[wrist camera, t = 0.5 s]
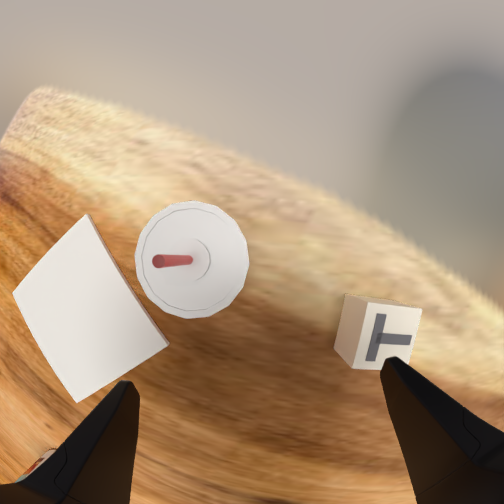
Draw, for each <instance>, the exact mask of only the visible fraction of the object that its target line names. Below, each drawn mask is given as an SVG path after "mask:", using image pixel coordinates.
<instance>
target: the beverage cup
mask: <svg viewBox="0 0 504 504" xmlns="http://www.w3.org/2000/svg"><path fill="white" fill-rule="evenodd" d="M135 263H136V271H137V278H138V280H139V282H140V284H141V286H142V288H143V289H144V291H145V293H146V295H147V297H148V298H149V299H150V300H151V301H153V302H154V303H155V304H156V305H157V306H158V307H160V308H161V309H162V310H163V311H164V312H167V313H170V314H173V315H176V316H179V317H182V318H185V319H189V318H200V317H209V316H211V315H213V314H214V313H216V312H218V311H220V310H222V309H224V308H225V307H227V306H229V305H230V303H231V302H232V301H233V300H234V298H235V297H236V296H237V294H238V293H239V292H240V291H241V289H242V288H243V286H244V282H245V278H246V275H247V271H248V268H249V257H248V249H247V241H246V239H245V237H244V236H243V234H242V232H241V230H240V229H239V227H238V225H237V223H236V222H235V220H234V219H233V218H231V217H230V216H229V215H227V214H226V213H225V212H223V211H222V210H221V209H220V208H218V207H217V206H214V205H211V204H207V203H203V202H199V201H195V200H194V201H187V202H181V203H174V204H171V205H170V206H168V207H166V208H165V209H163V210H161V211H160V212H158V213H157V214H155V215H153V217H152V218H151V219H150V221H149V222H148V224H147V225H146V226H145V228H144V229H143V230H142V232H141V233H140V236H139V240H138V244H137V248H136V252H135Z"/></svg>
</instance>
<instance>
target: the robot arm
mask: <svg viewBox="0 0 504 504" xmlns="http://www.w3.org/2000/svg"><path fill="white" fill-rule="evenodd" d="M380 378H381V382H382V386H383V391H384V395H385V399H386V403H387V407H388V411H389V414H390V418H391V420H392V423H393V426H394V429H395V432H396V435H397V438H398V441H399V444H400V447H401V450H402V453H403V456H404V459H405V462H406V466H407V469H408V472H409V476H410V479H411V483H412V486H413V490H414V493H415V496H416V501H417V504H504V432H502V431H501V430H499V429H497V428H495V427H494V426H492V425H490V424H488V423H487V422H485V421H484V420H482V419H480V418H479V417H477V416H476V415H475V414H473V413H472V412H470V411H469V410H468V409H466V408H465V407H463V406H462V405H461V404H460V403H458V402H457V401H456V400H454V399H453V398H452V397H450V396H449V395H448V394H446V393H445V392H444V391H442V390H441V389H440V388H438V387H437V386H436V385H434V384H433V383H432V382H430V381H429V380H428V379H426V378H425V377H424V376H422V375H421V374H420V373H418V372H417V371H416V370H415V369H413V368H412V367H411V366H409V365H408V364H407V363H405V362H404V361H403V360H401V359H400V358H399V357H397V356H393V357H389V358H386V359H385V361H384V364H383V366H382V369H381V372H380ZM139 407H140V395H139V393H138V391H137V389H136V388H135V386H134V384H133V383H132V382H131V381H128V380H121V381H119V382H118V383H117V384H116V385H115V386H114V388H113V389H112V390H111V391H110V392H109V393H108V394H107V395H106V396H105V397H104V398H103V399H102V401H101V402H100V403H99V404H98V405H97V406H96V407H95V408H94V409H93V410H92V411H91V413H90V414H89V415H88V416H87V417H86V418H85V419H84V420H83V421H82V422H81V423H80V425H79V426H78V427H77V428H76V429H75V430H74V431H73V432H72V433H71V434H70V435H69V437H68V438H67V439H66V440H65V442H63V443H62V444H61V445H60V446H59V447H58V449H57V450H56V451H55V452H54V453H53V454H52V455H51V456H50V457H49V458H48V459H46V460H45V461H44V462H43V463H42V464H41V465H40V466H39V467H37V468H36V469H35V470H34V471H33V472H32V473H30V474H29V475H28V476H27V477H26V478H24V479H23V480H21V481H19V482H16V483H10V484H2V485H0V504H129V503H130V492H131V483H132V475H133V467H134V459H135V452H136V445H137V439H138V427H139Z"/></svg>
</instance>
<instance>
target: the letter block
mask: <svg viewBox="0 0 504 504" xmlns="http://www.w3.org/2000/svg"><path fill="white" fill-rule="evenodd" d="M421 313H422V309H421V308H418V307H414V306H411V305H408V304H404V303H401V302H398V301H394V300H388V299H380V298H373V297H366V296H359V295H352V294H346V293H345V298H344V303H343V308H342V313H341V318H340V322H339V327H338V331H337V336H336V340H335V344H334V348H333V349H334V350H335V351H336V352H337V353H338V354H339V355H340V356H341V357H342V358H343V359H344V361H345V362H346V363H347V364H348V365H349V366H350V367H351V368H352V369H371V370H381V369H382V366H383V364H384V361H385V359H386V358H389V357H393V356H397V357H399V358H400V359H401V360H403V361H404V362H405V363H407V364H408V363H409V360H410V357H411V353H412V350H413V346H414V342H415V338H416V334H417V330H418V326H419V322H420V317H421Z"/></svg>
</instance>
